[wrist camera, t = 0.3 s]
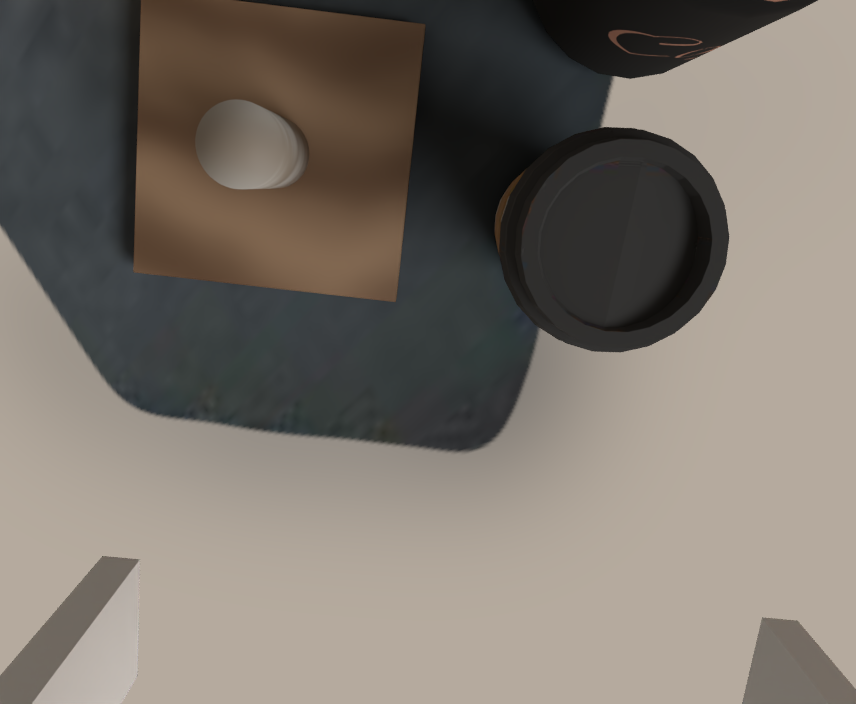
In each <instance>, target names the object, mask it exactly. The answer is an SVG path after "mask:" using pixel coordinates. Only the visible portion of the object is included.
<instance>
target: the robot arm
mask: <svg viewBox="0 0 856 704" xmlns="http://www.w3.org/2000/svg"><path fill="white" fill-rule="evenodd" d="M139 576H140V560H138V559H128V558H118V557H107V556H102V558H101V559H100V560H99V561H98V562H97V563H96V564H95V566H94V567H93V568H92V569H91V570H90V572H89V573H88V574H87V575H86V576H85V577H84V579H83V580H82V581H81V582H80V583H79V584H78V585H77V587H76V588H75V589H74V590H73V591H72V593H71V594H70V595H69V596H68V597H67V598H66V599H65V601H64V602H63V603H62V604H61V605H60V607H59V608H58V609H57V610H56V611H55V612H54V614H53V615H52V616H51V617H50V618H49V620H48V621H47V622H46V623H45V624H44V625H43V626H42V628H41V629H40V630H39V631H38V632H37V633H36V635H35V636H34V637H33V638H32V639H31V640H30V642H29V643H28V644H27V645H26V646H25V647H24V649H23V650H22V651H21V652H20V653H19V654H18V656H17V657H16V658H15V659H14V660H13V661H12V663H11V664H10V665H9V666H8V667H7V668H6V670H5V671H4V672H3V673H2V674H1V676H0V704H121V703H122V702H123V700H124V698H125V696H126V694H127V693H128V691H129V689H130V688H131V686H132V684H133V682H134V681H135V679H136V677H137V675H138V674H137V673H138V628H139V626H138V625H139V579H140V577H139ZM742 704H856V689H855V688H854V687H853V686H852V684H851V683H850V682H849V681H848V680H847V678H846V677H845V676H844V675H843V674H842V673H841V671H839V669H838V668H837V667H836V666H835V664H834V663H833V662H832V661H831V660H830V658H829V657H828V656H827V655H826V654H825V653H824V651H823V650H822V649H821V648H820V647H819V645H818V644H817V643H816V642H815V641H814V640H813V638H812V637H811V636H810V635H809V634H808V633H807V631H806V630H805V629H804V628H803V627H802V625H801V624H800V623H799V622H798V621H794V620H783V619H772V618H762V621H761V625H760V629H759V634H758V638H757V642H756V647H755V651H754V655H753V659H752V664H751V668H750V672H749V677H748V681H747V685H746V690H745V694H744V698H743V702H742Z"/></svg>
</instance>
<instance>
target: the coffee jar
mask: <svg viewBox="0 0 856 704" xmlns="http://www.w3.org/2000/svg"><path fill="white" fill-rule="evenodd" d="M816 1H817V0H533V3H534V5H535V7H536V9H537V12H538V14H539V16H540V18H541V21H542V23H543V25H544V27H545V30H546V32H547V33H548V34H549V35H550V36H551V38H552V39H553V40H554V41H555V42H556V43H557V44H558V45H559V46H560V48H561V49H562V50H563V51H564V52H565V53H566V54H567V55H568V56H569V57H570V58H571V59H573V60H575V61H577V62H579V63H580V64H582V65H584V66H586V67H588V68H589V69H591V70H593V71H595V72H597V73H600V74H606V75H611V76H617V77H623V78H630V79H631V78H637V77H643V76H649V75H655V74H661V73H664V72H667V71H669V70H671V69H673V68H675V67H677V66H680V65H682V64H684V63H686V62H688V61H690V60H693V59H695V58H697V57H699V56H701V55H703V54H705V53H708V52H710V51H712V50H714V49H716V48H718V47H721V46H722V45H725V44H727V43H729V42H731V41H733V40H736V39H738V38H740V37H742V36H744V35H746V34H749V33H751V32H753V31H755V30H757V29H759V28H761V27H764V26H766V25H768V24H770V23H772V22H774V21H777V20H779V19H781V18H783V17H785V16H787V15H789V14H791V13H794V12H796V11H798V10H800V9H802V8H804V7H806V6H808V5H810V4H812V3H813V2H816Z"/></svg>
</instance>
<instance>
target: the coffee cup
mask: <svg viewBox="0 0 856 704" xmlns="http://www.w3.org/2000/svg"><path fill="white" fill-rule="evenodd" d="M495 238H496V243H497V248H498V253H499V256H500V260H501V264H502V269H503V274H504V279H505V282H506V284H507V286H508V288H509V290H510V291H511V293H512V295H513V297H514V299H515V301H516V303H517V305H518V306H519V307H520V308H521V310H522V311H523V312H524V313H525V314H526V315H527V316H528V317H529V318H530V319H531V321H532V322H533V323H534V324H535V325H536V326H538V327H539V328H541V329H543V330H544V331H546V332H547V333H549V334H551V335H552V336H554V337H555V338H557V339H558V340H561V341H563V342H565V343H567V344H571V345H574V346H577V347H580V348H584V349H587V350H591V351H601V352H624V351H628V350H633V349H638V348H642V347H647V346H650V345H652V344H654V343H656V342H658V341H660V340H662V339H664V338H666V337H668V336H670V335H672V334H674V333H675V332H676V331H678V330H679V329H680V328H682V327H683V326H684V325H685V324H686V323H687V322H688V321H690V320H691V319H692V318H693V317H694V316H696V315H697V314H698V313H699V312H700V311H701V309H702V308H703V307H704V305H705V304H706V302H707V301H708V300H709V298H710V297H711V295H712V294H713V293H714V291H715V290H716V287H717V285H718V282H719V280H720V277H721V275H722V272H723V270H724V267H725V265H726V257H727V250H728V243H729V232H728V224H727V217H726V210H725V205H724V203H723V200H722V198H721V196H720V193H719V191H718V189H717V186H716V184H715V182H714V179H713V178H712V176H711V175H710V174H709V173H708V171H707V170H706V169H705V168H704V167H703V165H702V164H701V163H700V162H699V161H698V159H697V158H696V157H695V156H694V155H693V154H691V153H690V152H689V151H687V150H685V149H684V148H683V147H681V146H680V145H678V144H677V143H675V142H674V141H673V140H671V139H669V138H666V137H662V136H659V135H657V134H654V133H650V132H647V131H644V130H637V129H633V128H611V127H610V128H609V127H604V128H599V129H595V130H591V131H586V132H582V133H578V134H575V135H573V136H571V137H569V138H567V139H565V140H563V141H561V142H560V143H558V144H556V145H554V146H552V147H550V148H548V149H547V150H546V151H545V152H544V153H543V154H542V155H541V156H540V157H539V158H538V159H537V160H536V161H534V162H533V163H532V164H531V165H530V166H529V167H528V168H527V169H525V170H524V171H523V172H522V173H521V174H520V175H519V176H518V177H517V178H516V179H515V180H514V181H513V182H512V183H511V184H510V185H509V187H508V188H507V190H506V191H505V193H504V195H503V196H502V198H501V199H500V202H499V205H498V209H497V212H496V216H495Z"/></svg>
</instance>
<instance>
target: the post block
mask: <svg viewBox="0 0 856 704" xmlns="http://www.w3.org/2000/svg"><path fill="white" fill-rule="evenodd" d="M424 37H425V24H419V23H411V22H403V21H395V20H388V19H380V18H372V17H364V16H356V15H348V14H340V13H332V12H324V11H316V10H308V9H300V8H292V7H284V6H276V5H268V4H260V3H252V2H244V1H236V0H141V21H140V57H139V93H138V128H137V164H136V200H135V236H134V272H136V273H145V274H154V275H162V276H171V277H180V278H189V279H198V280H206V281H215V282H224V283H233V284H242V285H251V286H259V287H268V288H277V289H286V290H295V291H303V292H312V293H321V294H330V295H339V296H347V297H356V298H365V299H374V300H383V301H392V302H396V298H397V289H398V279H399V270H400V261H401V251H402V242H403V233H404V223H405V214H406V205H407V195H408V186H409V177H410V167H411V158H412V149H413V139H414V130H415V121H416V111H417V102H418V93H419V83H420V74H421V65H422V55H423V46H424Z"/></svg>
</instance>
